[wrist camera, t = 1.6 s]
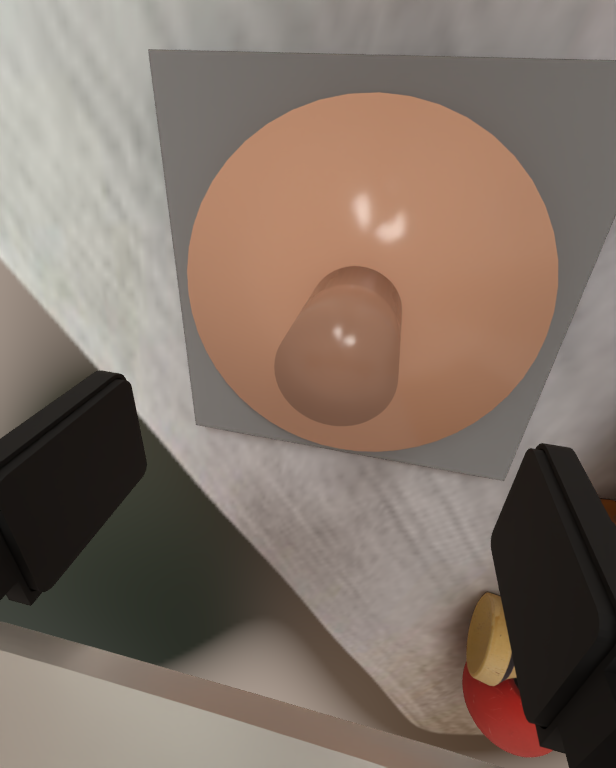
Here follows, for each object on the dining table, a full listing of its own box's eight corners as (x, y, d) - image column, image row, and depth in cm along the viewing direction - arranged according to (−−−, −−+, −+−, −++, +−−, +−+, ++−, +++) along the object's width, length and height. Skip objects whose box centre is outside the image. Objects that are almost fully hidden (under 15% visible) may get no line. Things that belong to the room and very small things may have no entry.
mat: (163, 54, 15) (148, 49, 14) (661, 66, 12) (679, 61, 11) (203, 414, 23) (196, 424, 22) (500, 466, 21) (504, 480, 20)
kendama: (511, 462, 22) (427, 665, 30) (579, 556, 16) (453, 778, 24) (649, 479, 22) (531, 676, 30) (763, 578, 17) (581, 791, 24)
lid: (178, 87, 14) (51, 62, 9) (622, 103, 12) (773, 82, 7) (211, 413, 22) (151, 498, 17) (488, 461, 19) (515, 574, 14)
